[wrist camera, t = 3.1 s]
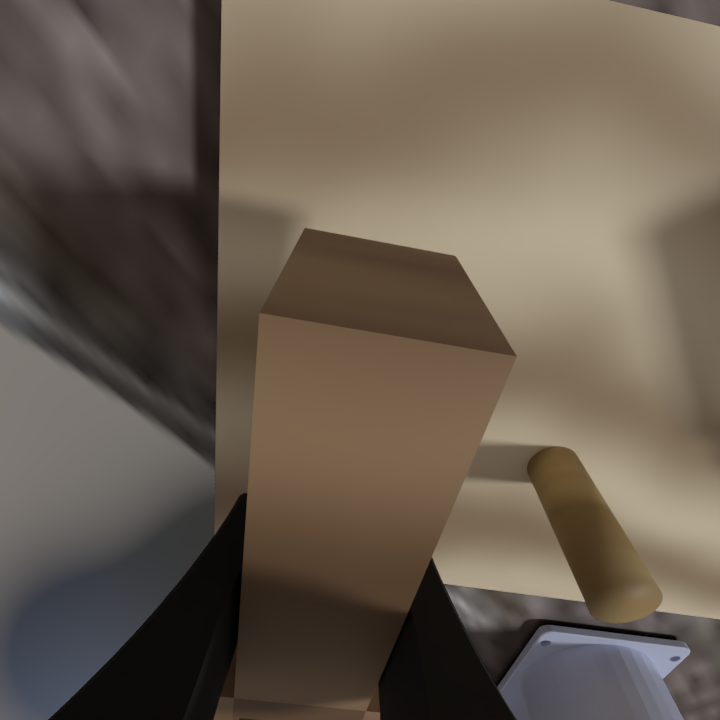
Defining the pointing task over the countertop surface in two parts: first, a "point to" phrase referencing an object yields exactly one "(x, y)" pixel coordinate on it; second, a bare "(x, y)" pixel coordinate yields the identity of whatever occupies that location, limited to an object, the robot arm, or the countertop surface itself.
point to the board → (508, 259)
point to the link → (353, 465)
